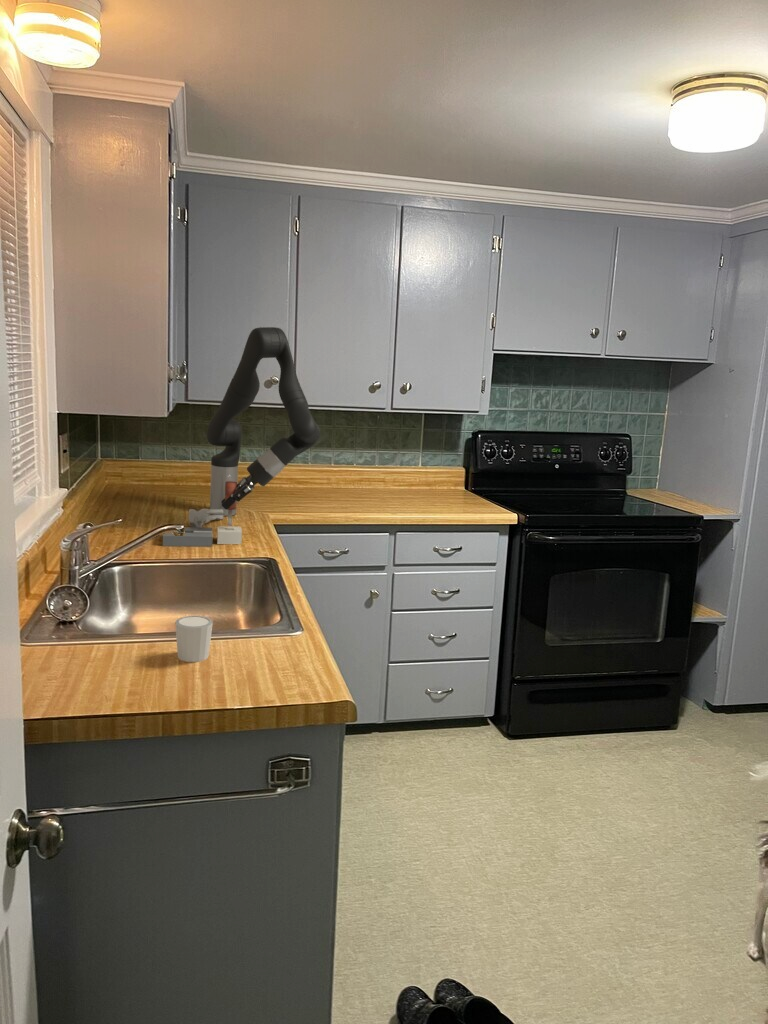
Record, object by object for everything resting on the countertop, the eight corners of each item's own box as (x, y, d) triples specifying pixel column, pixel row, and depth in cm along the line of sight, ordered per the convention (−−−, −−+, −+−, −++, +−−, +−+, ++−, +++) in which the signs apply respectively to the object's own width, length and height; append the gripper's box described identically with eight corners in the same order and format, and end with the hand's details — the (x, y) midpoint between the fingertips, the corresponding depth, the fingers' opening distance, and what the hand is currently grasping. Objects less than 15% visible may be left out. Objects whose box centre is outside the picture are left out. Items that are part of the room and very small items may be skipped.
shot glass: (182, 666, 141) (183, 629, 140) (168, 653, 146) (169, 618, 145) (217, 659, 145) (218, 624, 144) (203, 647, 150) (204, 613, 149)
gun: (186, 533, 234) (189, 508, 234) (217, 530, 264) (219, 507, 264) (192, 534, 234) (195, 509, 234) (223, 530, 264) (225, 508, 263)
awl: (223, 523, 233) (225, 481, 230) (235, 524, 234) (236, 481, 231) (224, 526, 230) (225, 483, 227) (235, 526, 231) (237, 483, 228)
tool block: (217, 539, 235) (217, 526, 234) (240, 539, 237) (240, 526, 236) (217, 544, 228) (217, 531, 228) (241, 545, 230) (241, 532, 229)
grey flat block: (164, 536, 234) (165, 526, 233) (212, 537, 237) (212, 527, 237) (162, 546, 223) (162, 535, 222) (212, 546, 226) (212, 536, 225)
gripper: (256, 454, 236) (214, 492, 236) (259, 461, 223) (214, 501, 222) (272, 472, 238) (231, 509, 238) (276, 480, 225) (232, 520, 225)
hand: (223, 505), depth 230 cm, fingers closed on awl, 3 cm apart
